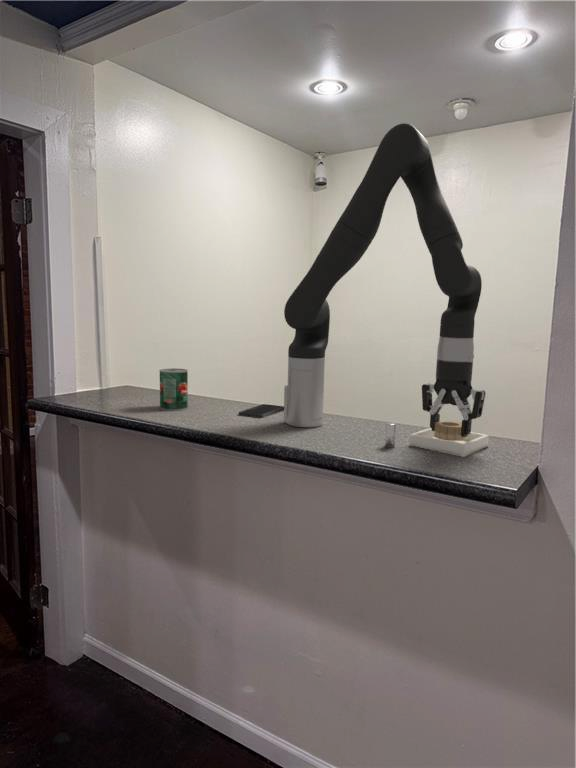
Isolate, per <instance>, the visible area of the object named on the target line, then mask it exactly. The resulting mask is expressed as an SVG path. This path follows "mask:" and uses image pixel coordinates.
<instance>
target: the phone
mask: <svg viewBox="0 0 576 768" xmlns="http://www.w3.org/2000/svg"><path fill="white" fill-rule="evenodd" d="M280 412H284V405H283V406H282V405H275V404H266V403H264V404H259V405H257V406H253V407H251V408H250V407H249V408H247V409H244V410H240V411H238V416H240V417H241V416H242V417H248V418H249V417H250V418H255V419H256V418H257V419H264V418H267V417H269V416H273V415H275V414H279V413H280Z"/></svg>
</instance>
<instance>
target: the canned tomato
mask: <svg viewBox="0 0 576 768" xmlns="http://www.w3.org/2000/svg"><path fill="white" fill-rule="evenodd" d="M158 371H159V409H160V410H163V411H168V412H169V411H170V412H171V411H172V412H173V411H174V412H176V411H184V410H187V409H188V406H189V405H188V404H189V403H188V402H189V401H188V400H189V396H188V395H189V394H188V393H189V392H188V391H189V390H188V389H189V388H188V387H189V385H188V383H189V382H188V378H189V377H188V375H189V374H188V373H189V372H188V369H185V368H161V369H159V370H158Z"/></svg>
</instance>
